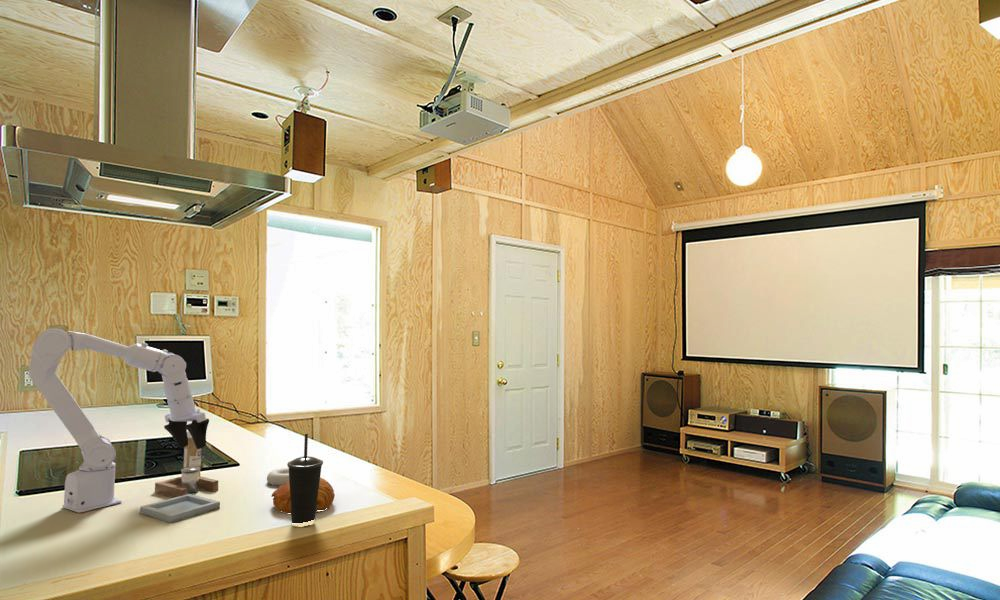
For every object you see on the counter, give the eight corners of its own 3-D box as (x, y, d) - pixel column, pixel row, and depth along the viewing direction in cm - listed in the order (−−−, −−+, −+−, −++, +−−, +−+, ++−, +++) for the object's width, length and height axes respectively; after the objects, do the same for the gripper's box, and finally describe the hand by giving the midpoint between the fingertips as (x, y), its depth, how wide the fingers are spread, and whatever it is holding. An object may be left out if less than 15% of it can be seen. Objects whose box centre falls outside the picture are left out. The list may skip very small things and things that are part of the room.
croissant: (328, 503, 151) (329, 471, 152) (338, 512, 137) (339, 477, 138) (269, 507, 145) (270, 475, 146) (273, 518, 131) (275, 482, 132)
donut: (275, 490, 154) (310, 483, 161) (275, 477, 154) (310, 470, 161) (260, 482, 161) (295, 475, 168) (261, 470, 162) (295, 464, 169)
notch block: (181, 499, 144) (182, 489, 144) (154, 492, 149) (155, 482, 149) (218, 490, 152) (218, 480, 152) (191, 483, 158) (191, 474, 158)
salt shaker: (186, 495, 147) (187, 472, 147) (176, 492, 149) (177, 469, 149) (202, 491, 151) (203, 468, 151) (192, 488, 153) (193, 466, 153)
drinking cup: (300, 532, 123) (303, 438, 124) (277, 525, 127) (280, 434, 128) (328, 522, 130) (331, 433, 131) (305, 515, 134) (308, 429, 135)
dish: (170, 522, 127) (171, 516, 127) (139, 513, 133) (140, 506, 133) (219, 508, 138) (220, 501, 138) (189, 499, 144) (189, 493, 144)
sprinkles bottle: (197, 479, 162) (199, 431, 163) (179, 479, 162) (181, 431, 162) (203, 474, 167) (205, 428, 167) (186, 475, 166) (188, 428, 167)
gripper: (210, 392, 150) (223, 441, 152) (177, 393, 157) (190, 440, 159) (185, 401, 144) (199, 452, 146) (152, 402, 151) (165, 451, 153)
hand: (192, 447), depth 152 cm, fingers open, 7 cm apart
